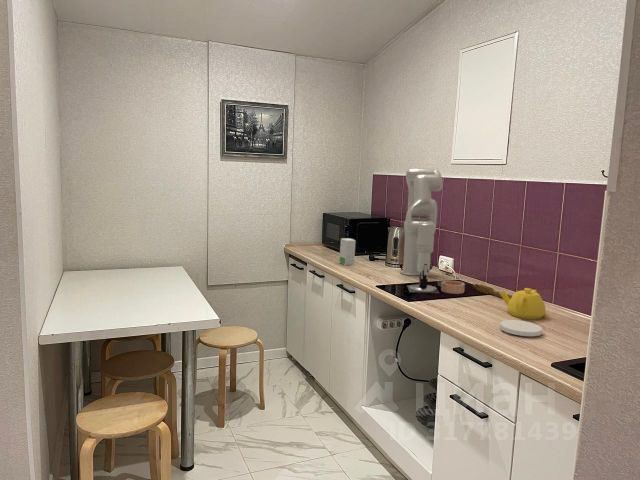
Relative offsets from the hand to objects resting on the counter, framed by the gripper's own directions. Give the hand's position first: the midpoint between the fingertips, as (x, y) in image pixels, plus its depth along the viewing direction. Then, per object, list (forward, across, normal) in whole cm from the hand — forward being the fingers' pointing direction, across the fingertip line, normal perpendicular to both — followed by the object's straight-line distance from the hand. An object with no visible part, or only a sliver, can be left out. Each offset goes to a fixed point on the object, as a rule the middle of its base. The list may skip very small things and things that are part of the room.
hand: (422, 285), depth 231 cm
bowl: (+2, +1, +14) cm, 14 cm away
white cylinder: (+2, -61, -38) cm, 72 cm away
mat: (+2, 0, 0) cm, 2 cm away
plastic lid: (+3, +58, +27) cm, 64 cm away
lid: (+2, 0, 0) cm, 2 cm away
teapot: (+3, +34, +35) cm, 49 cm away
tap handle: (+3, +4, +33) cm, 33 cm away
